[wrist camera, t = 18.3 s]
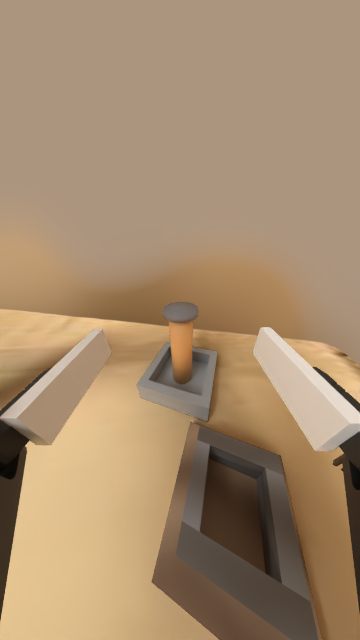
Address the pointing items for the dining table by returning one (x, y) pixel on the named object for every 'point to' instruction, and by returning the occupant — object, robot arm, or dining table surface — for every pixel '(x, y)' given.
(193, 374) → the tray
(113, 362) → the dining table surface
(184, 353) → the lock pin
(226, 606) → the grey square socket
